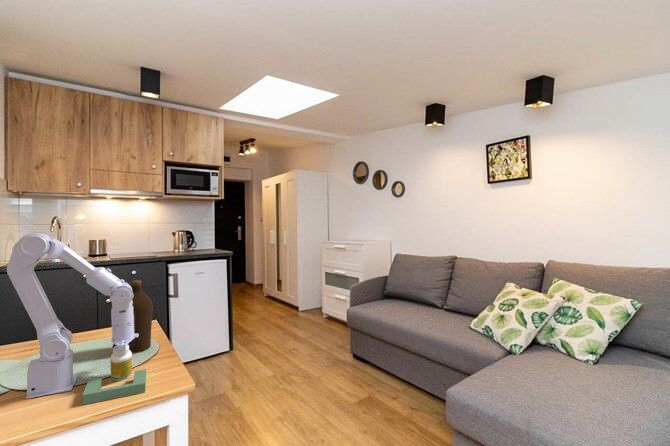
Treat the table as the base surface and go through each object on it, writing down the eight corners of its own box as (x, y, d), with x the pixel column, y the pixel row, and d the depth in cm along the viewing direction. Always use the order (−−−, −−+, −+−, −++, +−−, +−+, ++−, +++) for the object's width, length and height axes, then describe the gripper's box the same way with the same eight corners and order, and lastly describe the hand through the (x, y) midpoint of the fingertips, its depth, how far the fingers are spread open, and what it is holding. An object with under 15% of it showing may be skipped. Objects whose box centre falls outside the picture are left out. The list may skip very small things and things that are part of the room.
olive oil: (136, 341, 126) (137, 277, 126) (159, 345, 123) (159, 279, 123) (111, 352, 116) (112, 282, 116) (134, 356, 113) (135, 284, 113)
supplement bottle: (122, 383, 96) (121, 354, 94) (106, 379, 97) (105, 350, 94) (136, 371, 101) (136, 344, 99) (120, 367, 102) (120, 340, 100)
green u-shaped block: (82, 405, 84) (82, 395, 84) (89, 387, 92) (89, 379, 92) (145, 391, 91) (145, 383, 91) (146, 377, 99) (146, 368, 99)
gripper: (137, 327, 96) (138, 372, 97) (138, 314, 109) (140, 353, 110) (108, 332, 93) (110, 378, 93) (113, 317, 105) (114, 358, 106)
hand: (124, 365), depth 101 cm, fingers closed, pressing on supplement bottle
